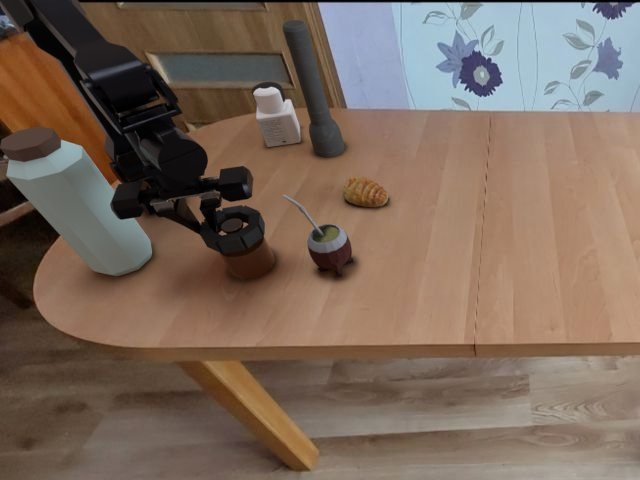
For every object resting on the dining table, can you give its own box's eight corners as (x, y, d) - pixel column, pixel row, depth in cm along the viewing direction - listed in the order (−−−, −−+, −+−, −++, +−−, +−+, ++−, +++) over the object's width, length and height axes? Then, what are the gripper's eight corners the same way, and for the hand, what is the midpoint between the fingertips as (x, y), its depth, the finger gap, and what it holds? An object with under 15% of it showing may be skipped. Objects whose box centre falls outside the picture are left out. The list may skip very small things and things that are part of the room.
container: (268, 131, 117) (248, 80, 107) (300, 127, 118) (283, 76, 109) (267, 147, 112) (246, 95, 102) (300, 143, 113) (283, 91, 104)
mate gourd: (360, 272, 84) (341, 207, 73) (316, 286, 82) (289, 221, 71) (350, 246, 89) (330, 181, 78) (307, 259, 86) (281, 194, 75)
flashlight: (336, 138, 115) (309, 147, 112) (303, 14, 94) (269, 22, 91) (349, 150, 111) (322, 160, 108) (318, 25, 91) (282, 33, 88)
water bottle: (146, 276, 83) (48, 154, 64) (85, 282, 82) (-33, 160, 63) (164, 238, 89) (80, 118, 71) (107, 244, 88) (7, 122, 70)
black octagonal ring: (265, 212, 84) (260, 201, 82) (264, 246, 78) (258, 235, 76) (209, 222, 82) (203, 211, 80) (204, 257, 76) (197, 246, 74)
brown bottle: (239, 286, 82) (216, 246, 75) (224, 262, 85) (200, 223, 79) (281, 265, 85) (263, 226, 78) (264, 244, 89) (245, 204, 82)
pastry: (395, 195, 100) (393, 180, 97) (378, 213, 96) (375, 199, 93) (358, 184, 102) (354, 170, 99) (340, 202, 98) (336, 187, 95)
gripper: (235, 115, 74) (269, 194, 85) (101, 132, 70) (155, 212, 81) (230, 152, 67) (268, 233, 78) (81, 173, 63) (143, 256, 74)
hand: (209, 232), depth 78 cm, fingers closed on black octagonal ring, 2 cm apart
